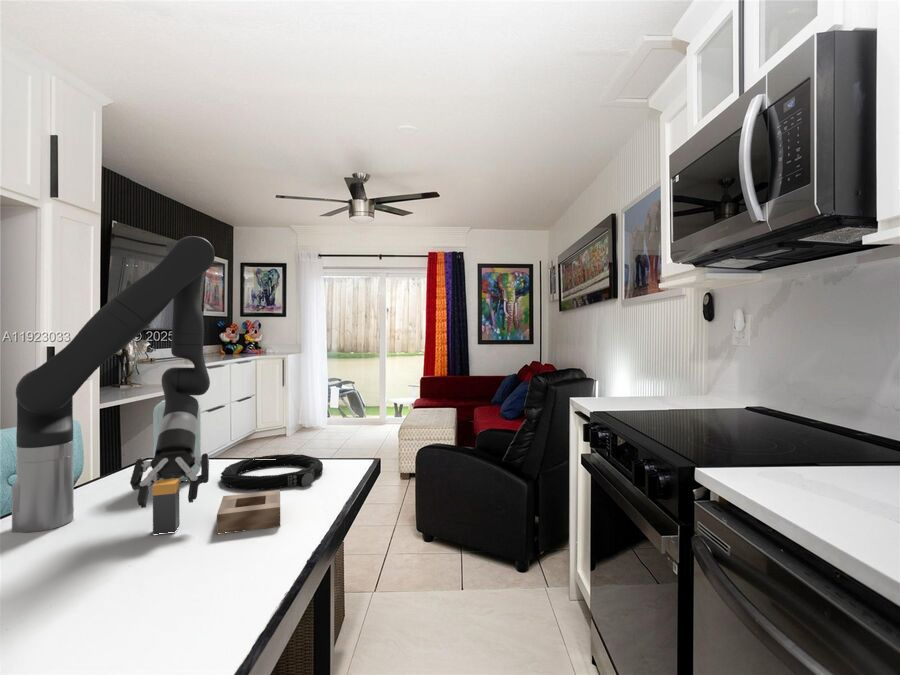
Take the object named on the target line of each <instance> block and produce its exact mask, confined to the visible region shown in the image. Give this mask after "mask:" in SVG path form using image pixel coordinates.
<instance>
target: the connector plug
mask: <svg viewBox="0 0 900 675" xmlns="http://www.w3.org/2000/svg"><path fill="white" fill-rule="evenodd" d="M180 518H181V517H180V483H179V478H175V479H164V480H157V481H156V482H155V484H154V485H153V486H152V535H153V534H159V533H168V532H175V531H176V530H177V531H178V529H179V528H180V526H179V525H180V524H181V523H180ZM178 527H179V528H178ZM177 528H178V529H177ZM177 531H176V532H177Z"/></svg>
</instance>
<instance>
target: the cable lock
mask: <svg viewBox="0 0 900 675" xmlns="http://www.w3.org/2000/svg"><path fill="white" fill-rule="evenodd" d="M253 459H254V460H253ZM255 459H276V460H255ZM290 465H292V466H291V467H295V466H296V467H297V466H298V467H302V468H303V469H300V470H298V471H297V470H296V471H293V472H287V473H281V474H274V475H273V474H272V475H271V474H270V475H268V474H267V475H246V474H245V475H244V474H242V473H245V472H247V471H246V470H250V471H252V470H251V469H253V470H256V469H255V468H257V469H259V468H258V467H264V468H268V467H281V466H290ZM267 466H268V467H267ZM323 470H324V464H323V462H322V461H321V460H320V459H319V458H318V457H313V456H309V455H305V454H302V453H301V454H294V453H289V454H271V455H263V456H254V457H250V458H248V459H242V460H240V461H237V462H235V463H232V464H229V465H228V466H226V467H225V468H224V469H223V471H222V472H221V473H220V474H221V476H220V480H221V483H223V484H225V485H226V486H227V487H230V486H231V487H232V488H234V487H235V488H234V489H237V488H239V490H240V489H241V490H249V489H260V490H273V489H274V490H276V489H281V488H289V487H290V488H292V487H299V488H300V487H308V486H309V487H310V486H311V485H312V484H313V482H314V479H316V478H317V477H318V476H320V474H322V472H323ZM244 471H245V472H244ZM239 473H240V474H239ZM275 488H276V489H275Z"/></svg>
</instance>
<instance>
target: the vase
mask: <svg viewBox="0 0 900 675" xmlns="http://www.w3.org/2000/svg"><path fill="white" fill-rule="evenodd" d="M198 405H199V407H198V415H197V437H196V441H195V449H194V457H200V456H202V453H201V452H202V449H201V447H202V446H201V445H202V444H201V440H202V438H201V431H202V430H201V428H202V427H201V405H200V404H199V403H198ZM164 410H165V399H163V400H161V402H158V404H156V405H155V406H154V408H153V414H152V415H153V418H152V420H153V422H152V426H153V430H152V431H153V435H152V436H153V450H152V451H153V452H152V453H153V457H154V456H155V451H156V446H157V441H158V435H159V430H160V426H161V423H162V420H163V415H164ZM191 470H192V471H193V473H194V474H195V475H196V476H198V474H199V472H201V467H200V466H199V465H198V463H195V464H194V465H193V466H192V467H191ZM171 479H175V478H171ZM161 480H164V479H161ZM186 480H187V479H186V478H185V477H184V476H182V477H180V478H179V482H180V483H182V482H181V481H184V482H187V481H186Z"/></svg>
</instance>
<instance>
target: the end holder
mask: <svg viewBox="0 0 900 675" xmlns="http://www.w3.org/2000/svg"><path fill="white" fill-rule="evenodd" d="M275 527H281V489H277V490H276V489H274V490H267V491H259V492H258V491H257V492H249V493H239V494H230V495H222V499H221V502H220V504H219V508H218V511H217V513H216V534H217V533H224V534H226V533H225V532H232V533H236V532H235V531H239V532H244V531H243V530H247V531H253V530H252V529H255V530H259V529H258V528H262V529H269V528H275Z"/></svg>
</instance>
